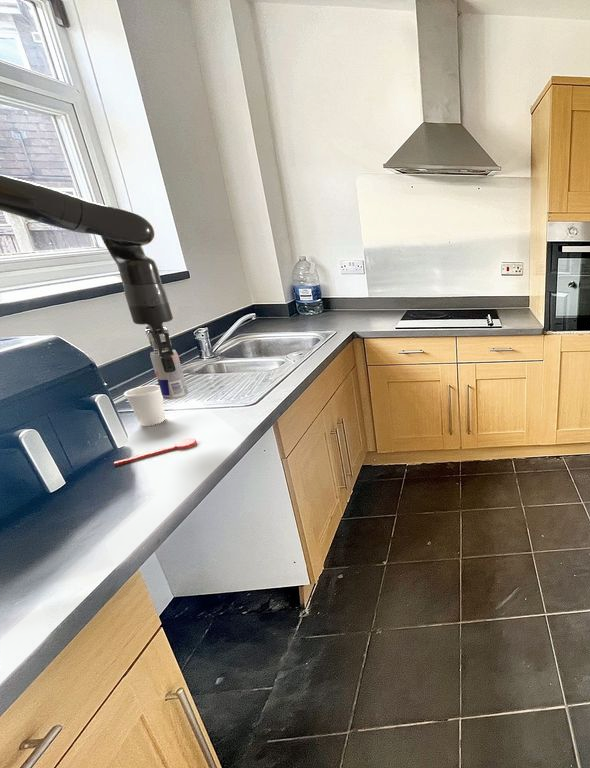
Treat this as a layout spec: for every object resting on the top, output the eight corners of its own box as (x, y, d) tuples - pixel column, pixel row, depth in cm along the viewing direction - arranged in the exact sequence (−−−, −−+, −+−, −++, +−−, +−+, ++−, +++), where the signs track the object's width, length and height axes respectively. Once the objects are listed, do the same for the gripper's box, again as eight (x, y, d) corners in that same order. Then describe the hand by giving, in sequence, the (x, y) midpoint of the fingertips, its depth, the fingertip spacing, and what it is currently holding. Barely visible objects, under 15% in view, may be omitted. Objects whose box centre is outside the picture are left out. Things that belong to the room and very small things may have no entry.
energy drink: (166, 394, 109) (152, 350, 105) (190, 391, 111) (178, 348, 107) (160, 401, 105) (146, 355, 101) (186, 397, 107) (173, 353, 103)
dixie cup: (176, 420, 122) (166, 388, 119) (140, 430, 116) (129, 397, 112) (164, 413, 126) (155, 383, 123) (130, 423, 120) (118, 391, 117)
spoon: (115, 468, 97) (114, 465, 96) (114, 462, 100) (112, 458, 99) (198, 445, 108) (197, 442, 107) (194, 439, 110) (193, 436, 110)
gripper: (123, 301, 102) (144, 366, 108) (132, 307, 93) (154, 379, 98) (162, 298, 107) (180, 360, 113) (173, 303, 98) (192, 372, 103)
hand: (168, 369), depth 105 cm, fingers closed on energy drink, 5 cm apart
